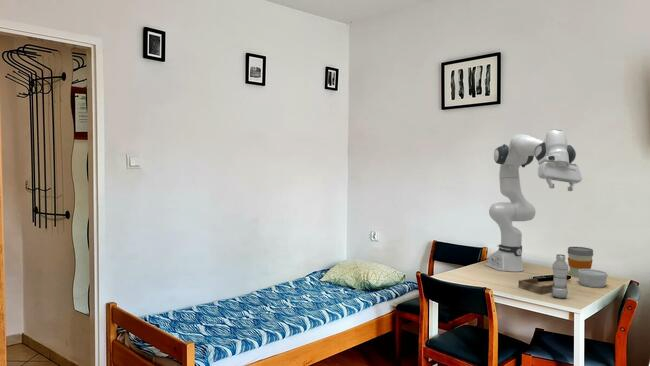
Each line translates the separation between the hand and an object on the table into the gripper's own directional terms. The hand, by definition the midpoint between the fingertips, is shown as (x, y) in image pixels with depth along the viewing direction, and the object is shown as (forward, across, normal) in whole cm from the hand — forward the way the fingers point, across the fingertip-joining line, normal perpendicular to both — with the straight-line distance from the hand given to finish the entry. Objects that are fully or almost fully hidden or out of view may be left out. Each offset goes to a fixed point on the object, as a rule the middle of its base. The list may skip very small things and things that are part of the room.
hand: (561, 189), depth 213 cm
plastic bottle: (+46, -8, -20) cm, 51 cm away
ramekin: (+36, -39, -34) cm, 63 cm away
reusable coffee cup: (+28, -44, -50) cm, 73 cm away
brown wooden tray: (+41, -6, -32) cm, 53 cm away
